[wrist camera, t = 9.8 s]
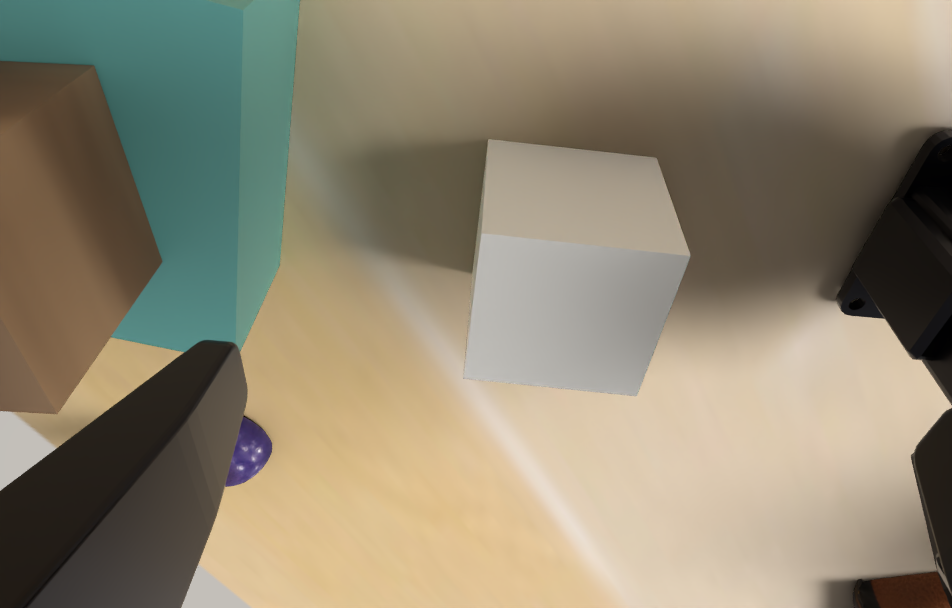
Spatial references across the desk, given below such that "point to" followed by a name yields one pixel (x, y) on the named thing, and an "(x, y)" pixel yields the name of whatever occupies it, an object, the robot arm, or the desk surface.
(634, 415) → the desk surface
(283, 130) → the teal base block
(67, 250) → the walnut cube
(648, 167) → the grey cube
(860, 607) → the sunglasses case
